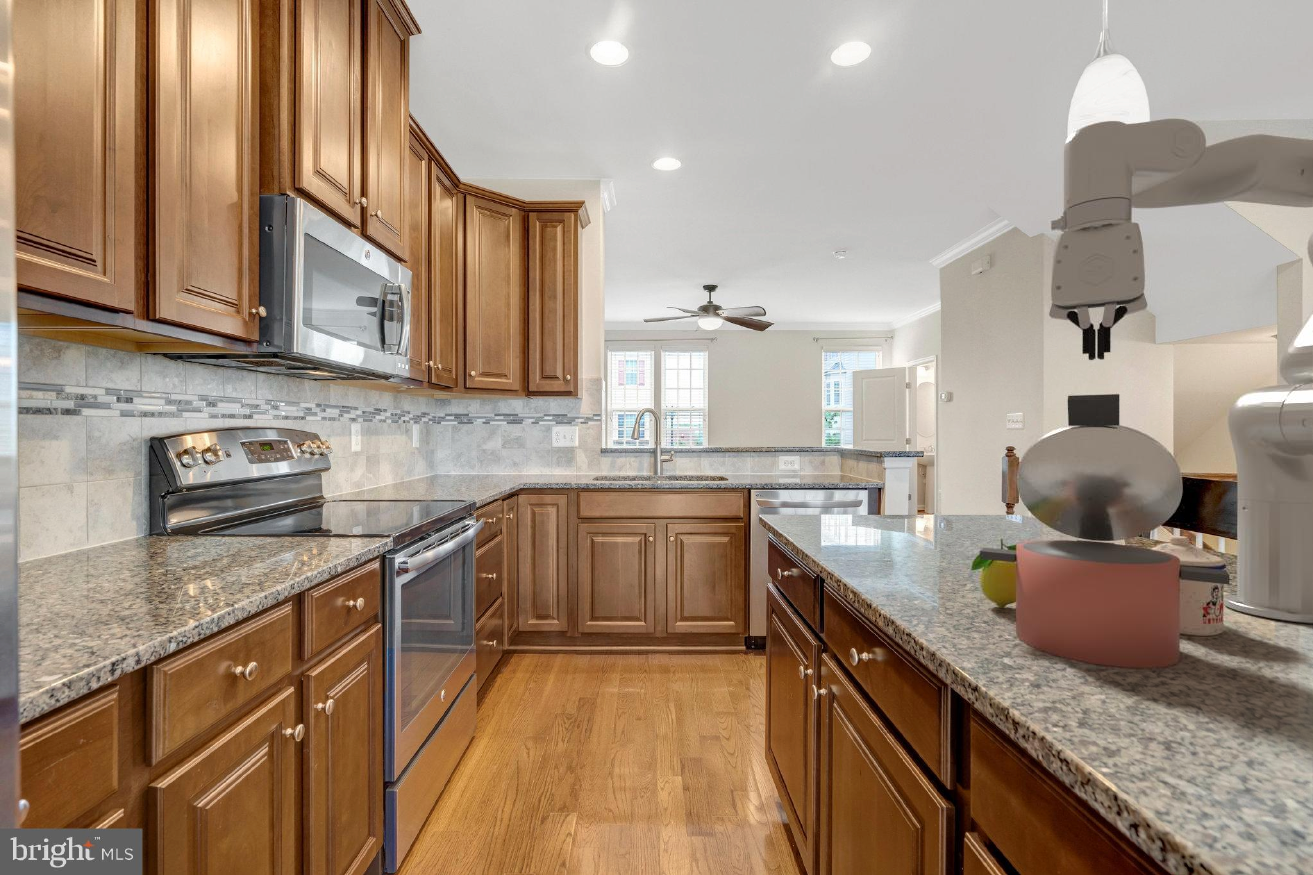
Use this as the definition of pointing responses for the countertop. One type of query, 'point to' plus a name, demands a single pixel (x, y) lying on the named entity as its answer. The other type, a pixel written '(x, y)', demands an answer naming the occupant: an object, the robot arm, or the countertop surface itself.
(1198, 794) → the countertop surface
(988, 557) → the cooker pot
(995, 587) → the lemon
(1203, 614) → the teacup with lid
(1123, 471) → the cooker lid
